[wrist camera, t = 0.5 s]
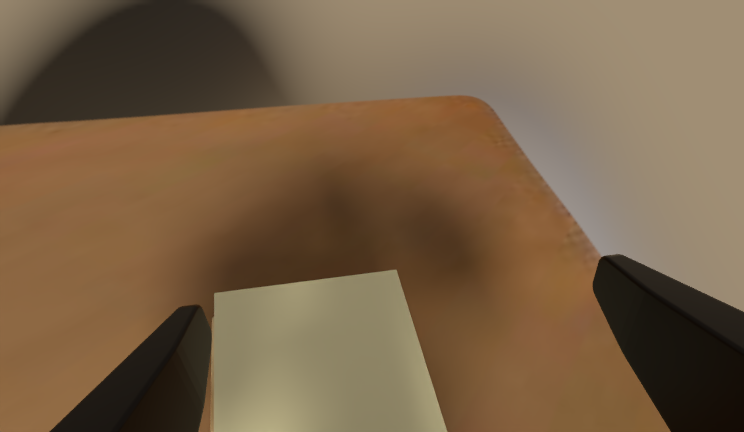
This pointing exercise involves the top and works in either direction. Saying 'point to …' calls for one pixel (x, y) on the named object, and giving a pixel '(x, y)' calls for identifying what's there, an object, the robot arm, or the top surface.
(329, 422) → the upper block
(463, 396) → the top surface
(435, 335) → the top surface
